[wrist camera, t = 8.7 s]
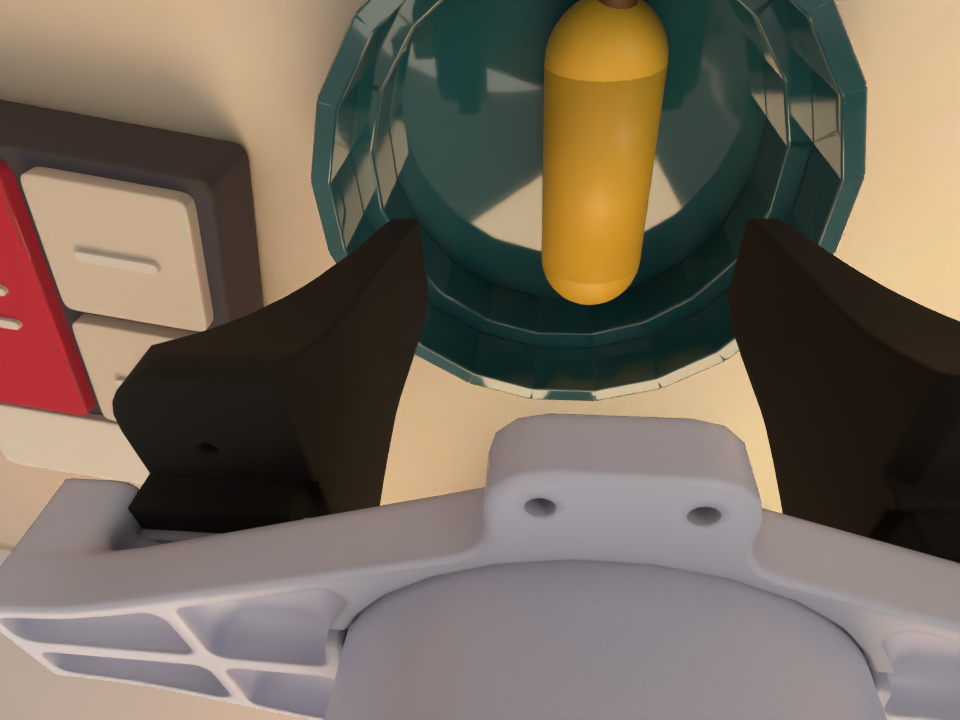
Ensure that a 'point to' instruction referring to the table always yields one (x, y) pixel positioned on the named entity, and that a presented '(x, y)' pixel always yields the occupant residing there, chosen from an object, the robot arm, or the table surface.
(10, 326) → the calculator
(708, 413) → the table surface
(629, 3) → the amber tube
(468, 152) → the teal bowl
